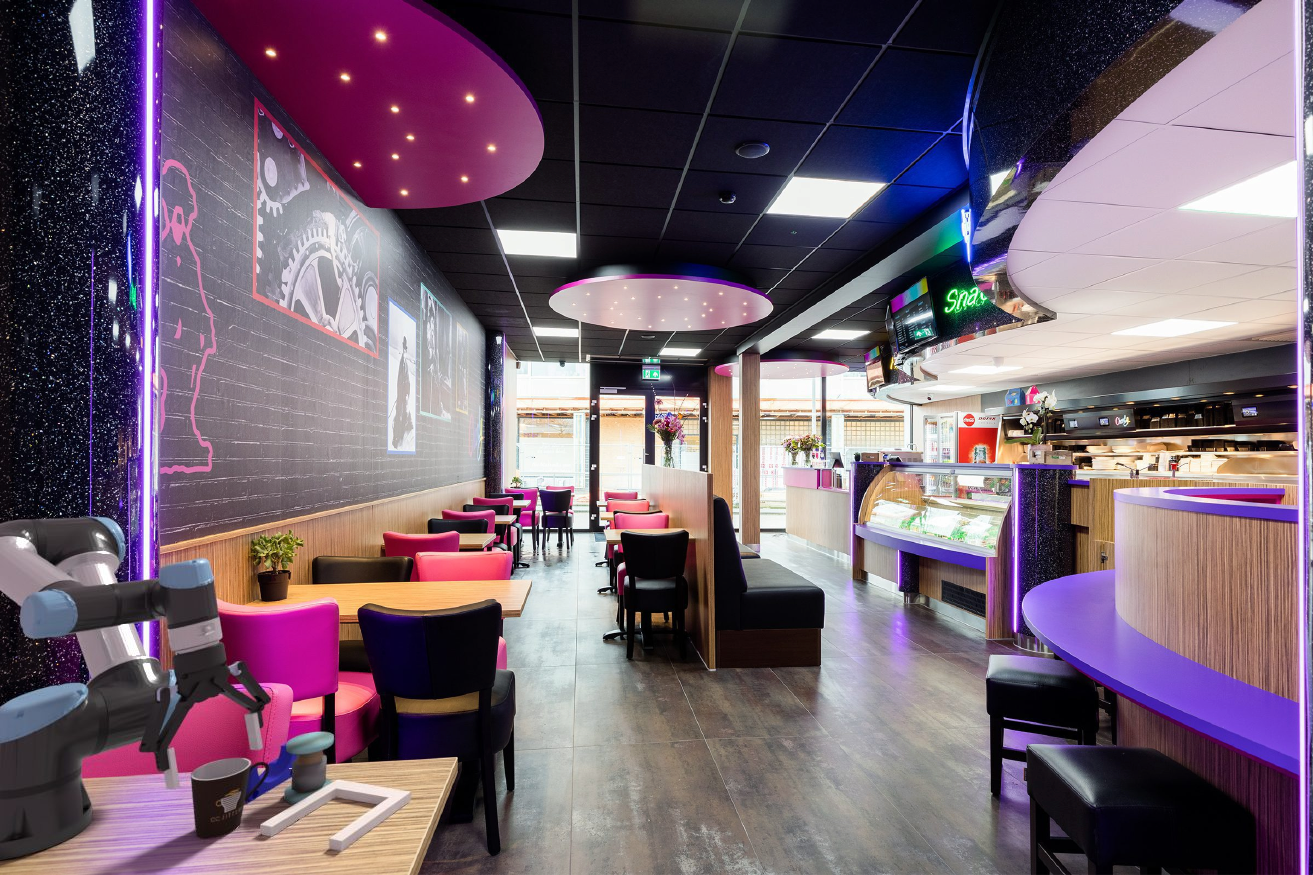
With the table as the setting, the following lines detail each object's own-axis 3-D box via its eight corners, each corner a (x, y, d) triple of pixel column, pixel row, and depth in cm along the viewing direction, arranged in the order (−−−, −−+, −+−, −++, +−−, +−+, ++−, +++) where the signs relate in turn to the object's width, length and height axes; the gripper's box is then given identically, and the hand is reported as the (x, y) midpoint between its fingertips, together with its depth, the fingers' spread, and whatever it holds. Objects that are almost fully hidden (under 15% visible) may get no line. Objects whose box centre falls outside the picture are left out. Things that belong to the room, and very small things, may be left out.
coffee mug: (185, 848, 103) (189, 784, 103) (189, 824, 110) (192, 765, 111) (269, 826, 109) (271, 767, 110) (267, 805, 116) (269, 749, 117)
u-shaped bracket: (260, 834, 107) (260, 824, 107) (337, 787, 123) (337, 779, 123) (341, 850, 102) (341, 840, 102) (410, 800, 118) (411, 791, 118)
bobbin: (274, 800, 118) (276, 745, 119) (308, 781, 126) (310, 729, 127) (308, 806, 116) (310, 750, 117) (341, 786, 124) (343, 734, 124)
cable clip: (279, 772, 130) (280, 742, 131) (297, 774, 129) (299, 743, 130) (229, 800, 118) (230, 767, 119) (249, 803, 118) (251, 769, 118)
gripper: (123, 672, 99) (144, 808, 98) (279, 624, 121) (298, 734, 120) (101, 674, 103) (121, 805, 101) (256, 627, 125) (274, 734, 123)
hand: (217, 767), depth 111 cm, fingers open, 13 cm apart
